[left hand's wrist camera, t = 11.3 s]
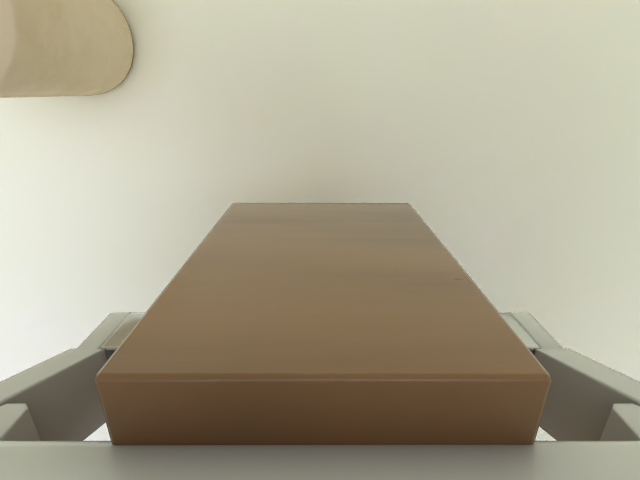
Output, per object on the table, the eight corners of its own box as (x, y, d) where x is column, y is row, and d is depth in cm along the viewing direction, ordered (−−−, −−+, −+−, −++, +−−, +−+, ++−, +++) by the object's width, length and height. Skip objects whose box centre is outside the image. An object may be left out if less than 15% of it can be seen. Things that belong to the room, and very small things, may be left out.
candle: (140, 98, 21) (0, 105, 12) (40, 91, 21) (-183, 93, 12) (128, -18, 19) (-55, -121, 10) (17, -27, 19) (-279, -140, 9)
